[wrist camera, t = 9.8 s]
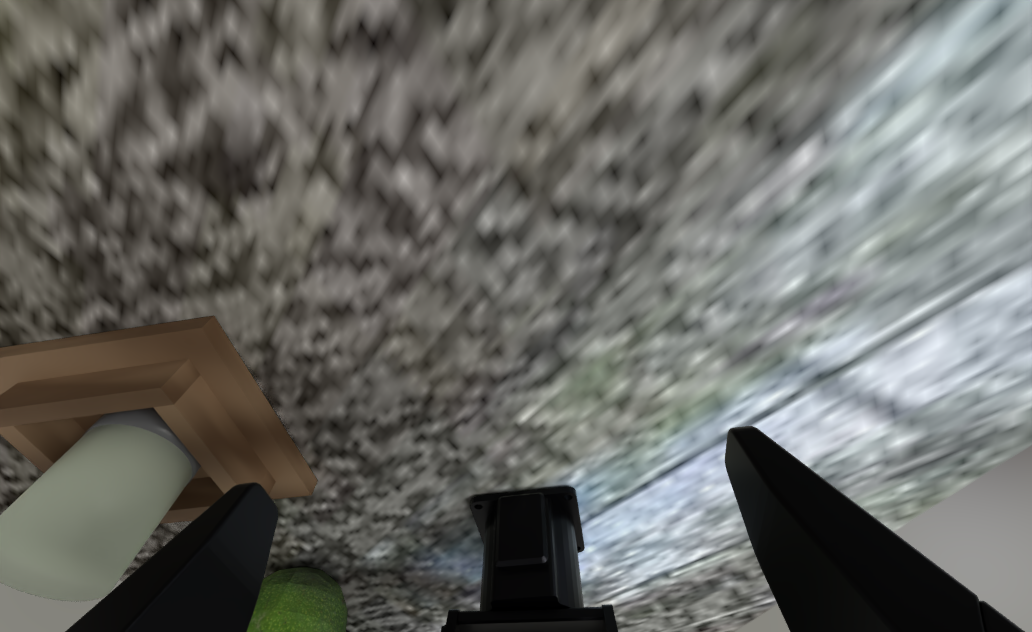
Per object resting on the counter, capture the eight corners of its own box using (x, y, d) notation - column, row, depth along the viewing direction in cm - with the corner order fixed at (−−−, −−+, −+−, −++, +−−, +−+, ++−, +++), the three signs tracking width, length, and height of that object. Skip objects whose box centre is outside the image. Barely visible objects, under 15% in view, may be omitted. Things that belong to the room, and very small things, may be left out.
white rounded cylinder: (229, 462, 25) (141, 596, 19) (144, 471, 26) (33, 606, 20) (176, 393, 22) (56, 526, 17) (83, 406, 23) (-67, 539, 17)
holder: (317, 480, 28) (297, 526, 25) (136, 500, 29) (99, 547, 26) (214, 315, 21) (173, 355, 19) (-15, 349, 22) (-82, 392, 20)
